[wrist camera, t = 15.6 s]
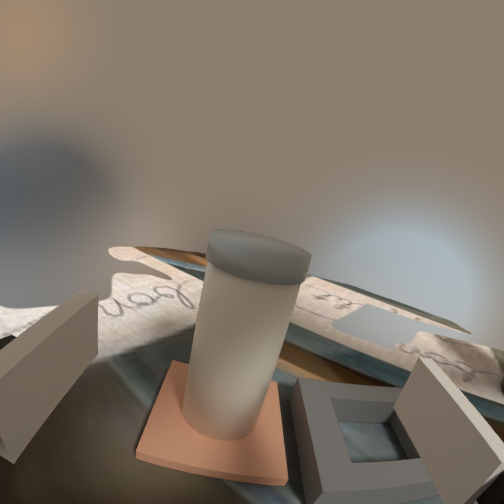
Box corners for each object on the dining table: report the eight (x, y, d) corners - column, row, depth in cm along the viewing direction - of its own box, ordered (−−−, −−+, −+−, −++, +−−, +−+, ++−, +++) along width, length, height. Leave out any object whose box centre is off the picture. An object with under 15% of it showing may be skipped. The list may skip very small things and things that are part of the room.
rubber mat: (274, 389, 31) (276, 382, 30) (284, 486, 18) (288, 479, 18) (171, 367, 30) (172, 359, 30) (135, 458, 17) (135, 451, 17)
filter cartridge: (258, 396, 27) (302, 244, 24) (259, 447, 21) (321, 267, 17) (187, 382, 27) (216, 224, 24) (172, 431, 20) (203, 240, 17)
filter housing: (400, 408, 30) (411, 388, 29) (448, 492, 16) (468, 471, 16) (289, 399, 29) (298, 377, 29) (306, 511, 16) (322, 491, 15)
